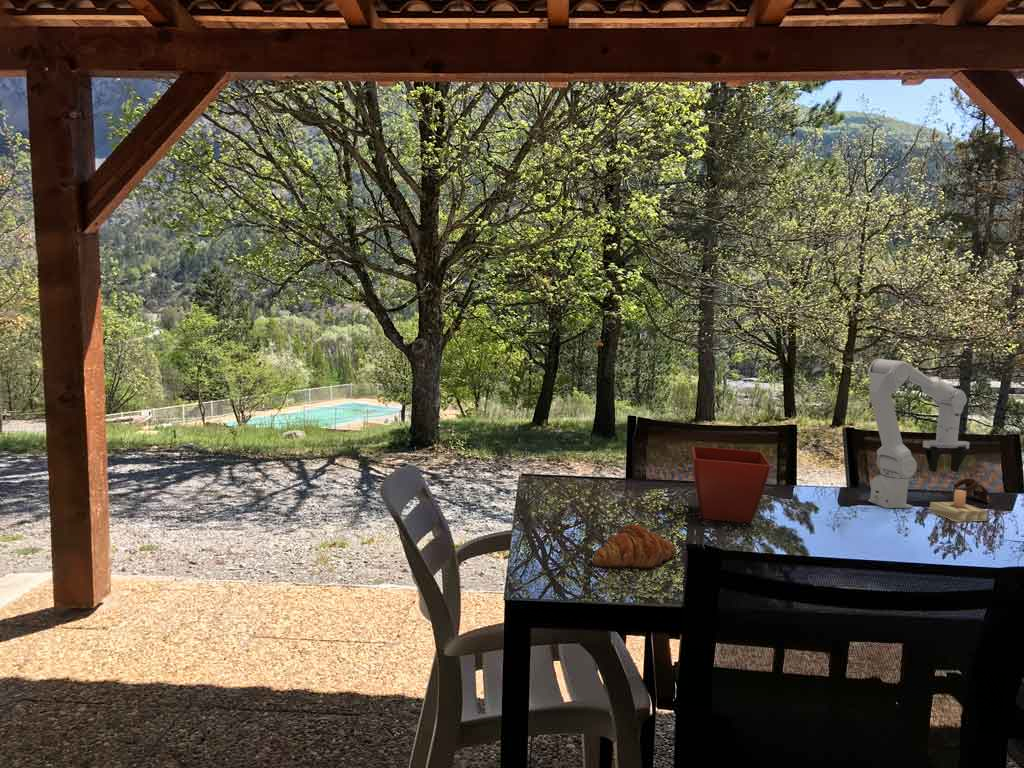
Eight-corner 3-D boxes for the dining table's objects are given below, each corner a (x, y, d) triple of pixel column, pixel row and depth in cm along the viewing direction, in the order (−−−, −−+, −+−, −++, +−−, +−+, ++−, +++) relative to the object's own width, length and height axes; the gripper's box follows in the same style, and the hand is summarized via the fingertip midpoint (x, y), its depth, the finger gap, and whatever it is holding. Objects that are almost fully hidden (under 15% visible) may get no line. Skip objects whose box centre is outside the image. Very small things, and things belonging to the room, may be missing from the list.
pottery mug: (993, 508, 228) (982, 485, 228) (960, 516, 234) (948, 493, 233) (990, 491, 238) (979, 468, 238) (958, 499, 244) (947, 477, 243)
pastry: (661, 580, 153) (664, 542, 152) (589, 567, 158) (591, 530, 158) (676, 556, 168) (678, 521, 167) (609, 545, 174) (611, 511, 173)
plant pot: (765, 528, 193) (771, 464, 191) (689, 521, 197) (694, 458, 195) (757, 510, 211) (761, 451, 210) (687, 503, 215) (691, 445, 213)
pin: (957, 516, 212) (959, 492, 211) (950, 513, 215) (952, 489, 214) (966, 516, 213) (968, 492, 212) (959, 513, 215) (961, 489, 215)
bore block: (955, 522, 208) (956, 511, 208) (929, 512, 218) (930, 502, 218) (986, 521, 210) (987, 511, 210) (959, 511, 220) (960, 501, 220)
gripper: (936, 429, 222) (932, 474, 224) (979, 429, 225) (974, 474, 226) (919, 425, 229) (915, 468, 231) (961, 426, 232) (956, 469, 233)
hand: (943, 471), depth 229 cm, fingers open, 7 cm apart
